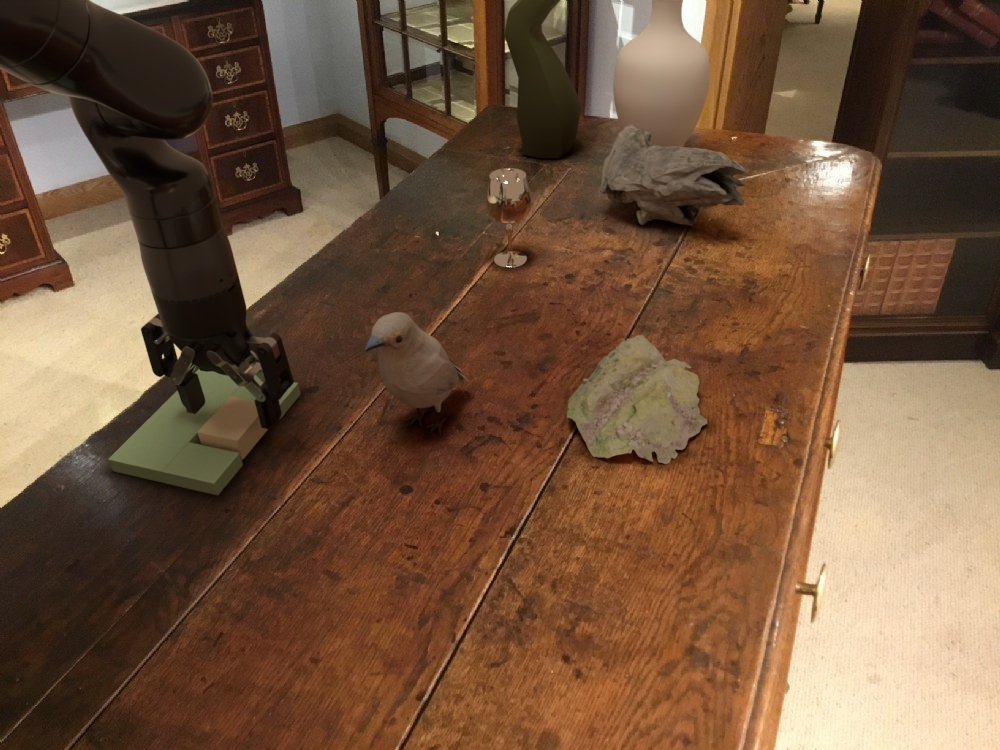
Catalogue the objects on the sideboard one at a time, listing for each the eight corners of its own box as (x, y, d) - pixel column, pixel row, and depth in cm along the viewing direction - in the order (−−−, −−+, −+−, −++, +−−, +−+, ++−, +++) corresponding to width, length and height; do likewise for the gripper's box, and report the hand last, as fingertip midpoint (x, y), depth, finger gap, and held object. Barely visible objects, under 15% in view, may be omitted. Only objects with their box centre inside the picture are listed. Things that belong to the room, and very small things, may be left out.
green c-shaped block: (218, 495, 80) (214, 483, 79) (112, 471, 83) (107, 459, 82) (301, 394, 92) (298, 382, 91) (206, 376, 95) (202, 365, 94)
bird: (363, 453, 84) (341, 327, 75) (446, 383, 93) (435, 262, 84) (401, 472, 82) (383, 344, 73) (483, 398, 91) (475, 275, 82)
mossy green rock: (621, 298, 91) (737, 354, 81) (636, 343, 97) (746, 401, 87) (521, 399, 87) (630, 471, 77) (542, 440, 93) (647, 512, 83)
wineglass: (517, 274, 111) (514, 188, 104) (480, 263, 114) (476, 179, 106) (539, 255, 115) (539, 171, 108) (504, 245, 118) (501, 163, 110)
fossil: (724, 278, 119) (788, 187, 111) (618, 244, 112) (679, 143, 104) (674, 206, 134) (727, 120, 126) (578, 171, 127) (628, 78, 119)
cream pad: (243, 460, 84) (237, 440, 82) (203, 451, 85) (196, 432, 84) (274, 422, 89) (269, 403, 87) (235, 414, 90) (230, 395, 88)
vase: (597, 152, 142) (604, -30, 125) (678, 141, 145) (695, -38, 128) (628, 187, 131) (640, -8, 114) (714, 175, 133) (739, -17, 117)
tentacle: (570, 164, 139) (573, -36, 121) (499, 156, 142) (492, -40, 124) (585, 144, 145) (590, -49, 127) (518, 136, 149) (513, -52, 131)
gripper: (99, 285, 75) (150, 427, 84) (240, 308, 71) (277, 453, 80) (152, 246, 80) (195, 382, 90) (285, 265, 76) (315, 405, 86)
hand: (233, 416), depth 85 cm, fingers open, 8 cm apart
